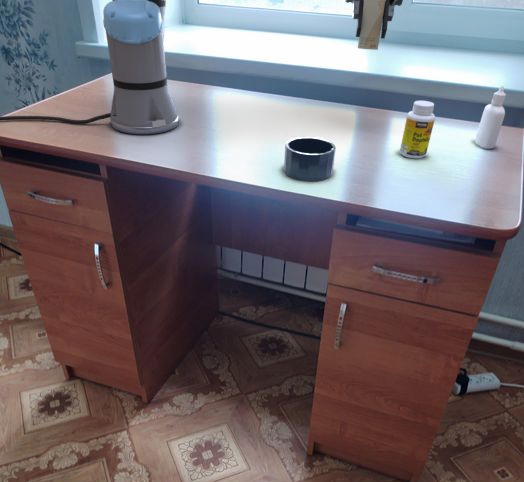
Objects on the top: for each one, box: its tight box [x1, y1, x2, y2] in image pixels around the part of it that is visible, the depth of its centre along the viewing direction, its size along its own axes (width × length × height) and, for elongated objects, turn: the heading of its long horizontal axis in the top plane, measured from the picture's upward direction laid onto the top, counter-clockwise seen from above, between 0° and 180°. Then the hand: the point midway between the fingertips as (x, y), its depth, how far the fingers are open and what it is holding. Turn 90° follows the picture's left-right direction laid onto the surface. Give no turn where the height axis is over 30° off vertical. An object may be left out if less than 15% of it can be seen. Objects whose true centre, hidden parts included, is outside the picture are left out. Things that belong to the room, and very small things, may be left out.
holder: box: [283, 136, 336, 182], centre depth 97 cm, size 9×9×5 cm
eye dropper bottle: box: [474, 85, 507, 150], centre depth 109 cm, size 4×6×12 cm
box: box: [357, 0, 386, 51], centre depth 105 cm, size 5×4×11 cm
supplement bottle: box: [399, 100, 436, 159], centre depth 104 cm, size 6×6×10 cm
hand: (371, 33), depth 103 cm, fingers closed on box, 4 cm apart
